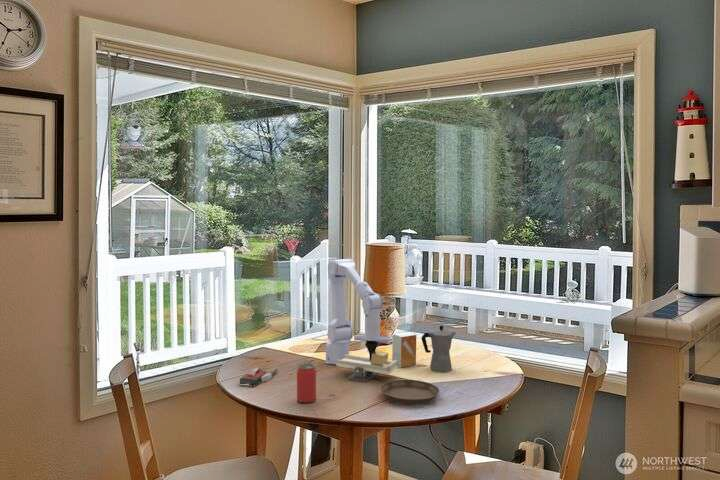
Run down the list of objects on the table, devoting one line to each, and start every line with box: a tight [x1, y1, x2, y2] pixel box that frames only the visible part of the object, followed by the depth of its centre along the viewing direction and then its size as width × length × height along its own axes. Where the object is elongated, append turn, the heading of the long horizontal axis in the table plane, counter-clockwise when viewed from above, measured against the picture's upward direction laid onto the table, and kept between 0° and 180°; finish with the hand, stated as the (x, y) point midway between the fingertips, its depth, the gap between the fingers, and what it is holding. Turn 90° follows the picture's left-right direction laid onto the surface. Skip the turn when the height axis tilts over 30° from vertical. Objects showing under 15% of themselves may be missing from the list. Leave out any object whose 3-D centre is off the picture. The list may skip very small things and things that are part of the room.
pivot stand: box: [347, 367, 379, 383], centre depth 236 cm, size 8×15×4 cm, turn 158°
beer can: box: [296, 363, 317, 403], centre depth 207 cm, size 7×7×12 cm
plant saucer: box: [380, 379, 440, 406], centre depth 212 cm, size 21×21×3 cm
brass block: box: [371, 350, 389, 367], centre depth 233 cm, size 5×5×5 cm
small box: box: [391, 331, 417, 369], centre depth 251 cm, size 8×6×13 cm
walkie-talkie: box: [239, 367, 279, 387], centre depth 232 cm, size 9×4×20 cm
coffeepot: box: [421, 325, 457, 373], centre depth 244 cm, size 15×9×18 cm, turn 110°
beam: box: [335, 354, 398, 375], centre depth 236 cm, size 22×9×3 cm, turn 68°
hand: (372, 360), depth 234 cm, fingers closed, pressing on brass block
